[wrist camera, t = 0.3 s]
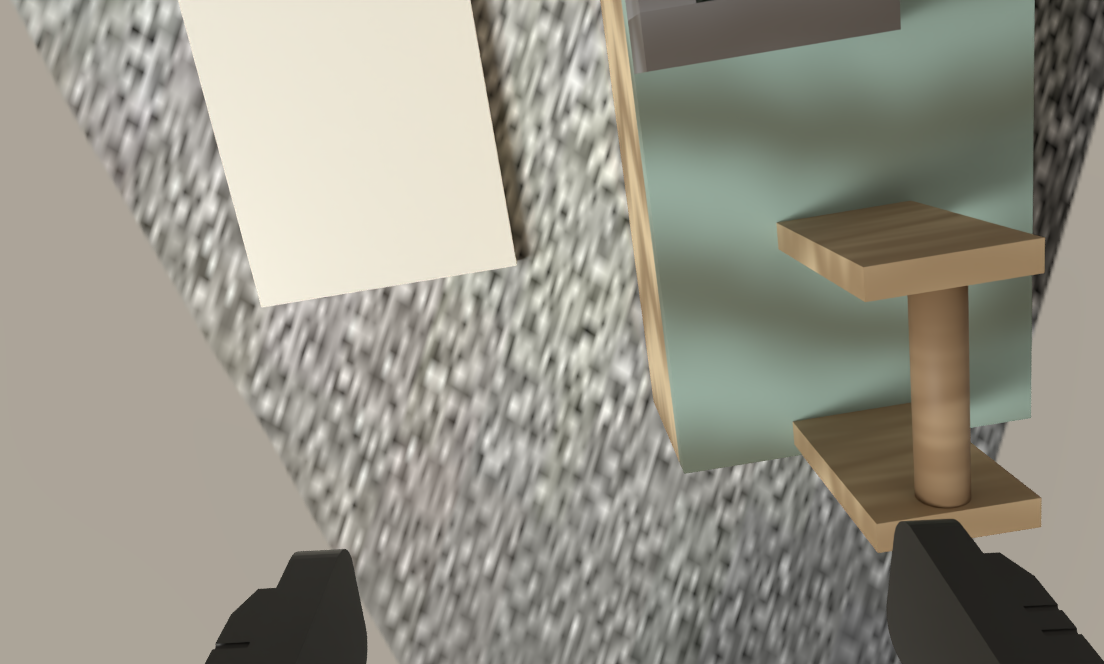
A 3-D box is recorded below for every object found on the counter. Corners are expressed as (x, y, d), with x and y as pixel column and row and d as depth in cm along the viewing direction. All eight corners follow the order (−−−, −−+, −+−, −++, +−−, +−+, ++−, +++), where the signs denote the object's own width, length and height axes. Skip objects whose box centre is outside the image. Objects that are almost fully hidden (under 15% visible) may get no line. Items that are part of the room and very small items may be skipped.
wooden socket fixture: (575, -190, 33) (619, -435, 18) (917, -249, 33) (1262, -548, 18) (653, 401, 40) (733, 590, 25) (934, 355, 40) (1187, 517, 25)
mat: (180, -13, 34) (174, -15, 34) (460, -61, 34) (459, -64, 34) (265, 304, 38) (261, 307, 38) (517, 262, 38) (516, 265, 38)
